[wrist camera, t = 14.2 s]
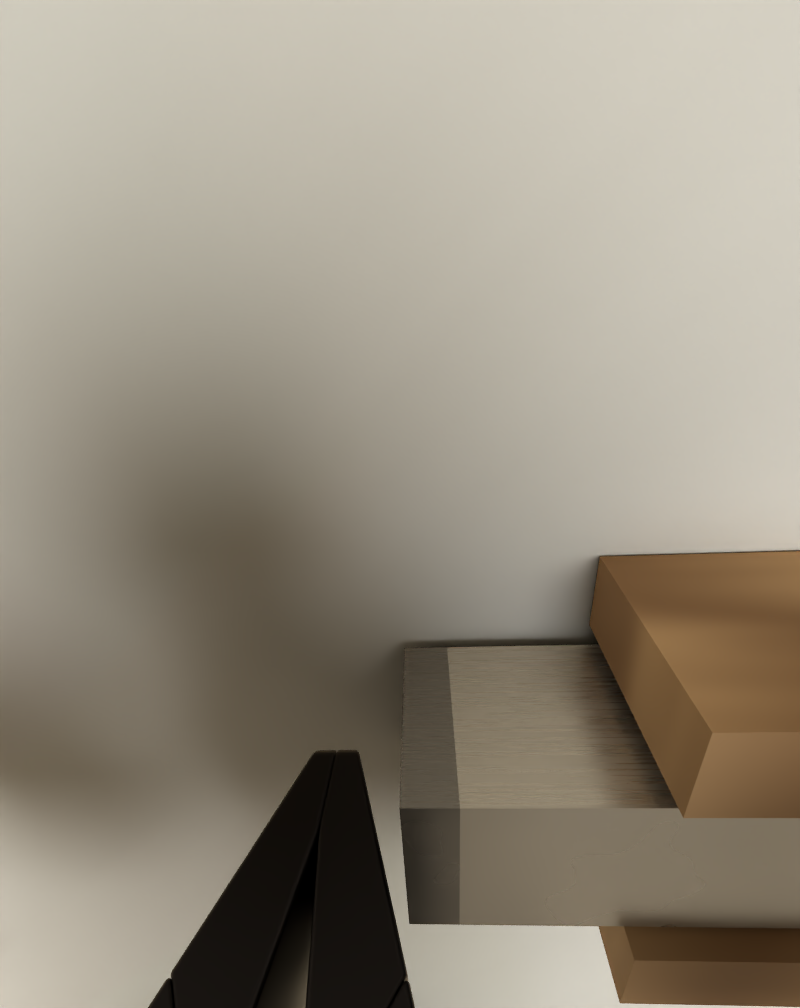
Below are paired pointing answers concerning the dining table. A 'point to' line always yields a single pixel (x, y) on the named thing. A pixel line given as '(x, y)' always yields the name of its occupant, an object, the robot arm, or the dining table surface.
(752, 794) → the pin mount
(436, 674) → the pin
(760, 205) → the dining table surface
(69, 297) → the dining table surface
